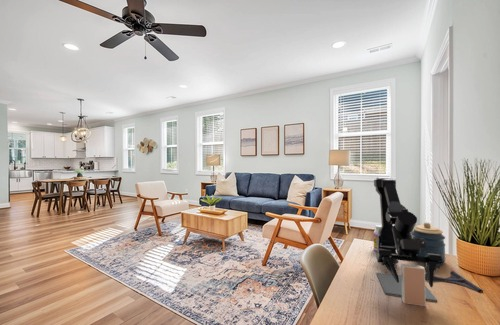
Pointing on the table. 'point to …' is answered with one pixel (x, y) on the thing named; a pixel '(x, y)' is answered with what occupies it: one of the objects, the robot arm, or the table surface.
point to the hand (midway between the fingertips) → (414, 284)
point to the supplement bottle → (376, 236)
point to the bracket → (457, 281)
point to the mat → (398, 286)
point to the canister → (430, 240)
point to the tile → (413, 284)
